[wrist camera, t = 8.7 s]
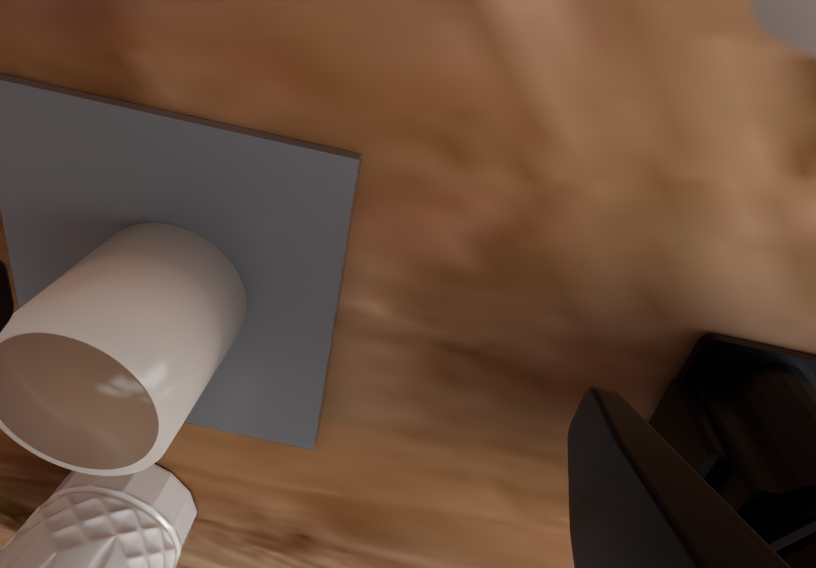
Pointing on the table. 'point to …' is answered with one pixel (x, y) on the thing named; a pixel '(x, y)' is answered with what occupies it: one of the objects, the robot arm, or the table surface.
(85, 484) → the white cup
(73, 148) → the slate board
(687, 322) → the table surface
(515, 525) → the table surface
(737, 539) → the robot arm
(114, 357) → the espresso cup
